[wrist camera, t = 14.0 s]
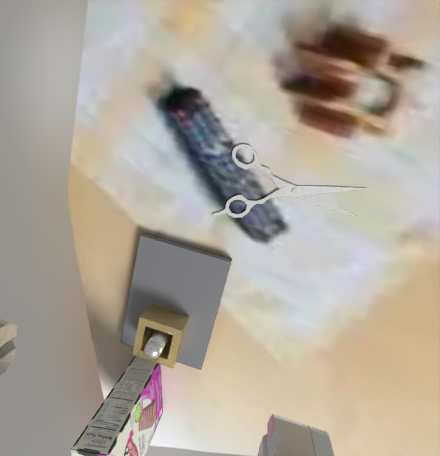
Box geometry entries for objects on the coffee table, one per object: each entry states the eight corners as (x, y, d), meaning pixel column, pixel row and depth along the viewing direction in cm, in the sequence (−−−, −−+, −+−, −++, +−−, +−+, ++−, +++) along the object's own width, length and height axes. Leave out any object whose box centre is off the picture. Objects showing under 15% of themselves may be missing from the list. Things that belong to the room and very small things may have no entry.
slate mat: (144, 233, 41) (140, 235, 39) (232, 259, 39) (230, 262, 38) (125, 337, 45) (120, 342, 44) (203, 363, 44) (201, 370, 43)
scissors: (222, 141, 36) (378, 162, 33) (223, 141, 37) (375, 162, 34) (212, 217, 38) (356, 242, 36) (213, 216, 39) (354, 241, 37)
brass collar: (151, 303, 41) (139, 317, 38) (189, 316, 41) (182, 331, 37) (144, 337, 43) (132, 354, 39) (181, 350, 42) (173, 368, 38)
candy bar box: (165, 412, 47) (115, 532, 32) (138, 408, 48) (77, 524, 32) (162, 357, 45) (107, 457, 29) (134, 354, 46) (66, 450, 30)
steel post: (161, 318, 42) (142, 344, 35) (175, 323, 41) (159, 350, 35) (158, 331, 42) (139, 359, 36) (172, 336, 42) (156, 365, 36)
